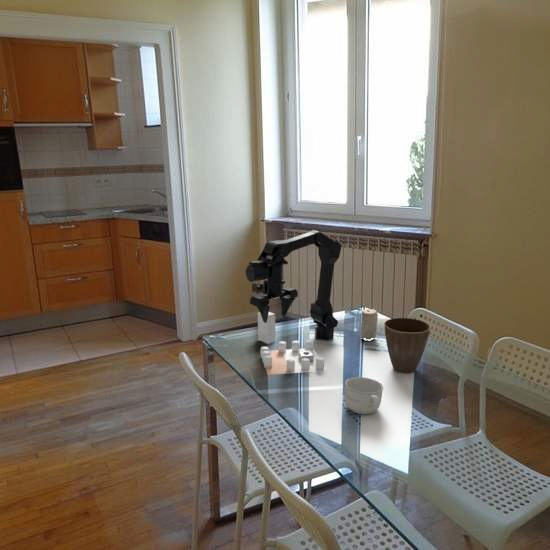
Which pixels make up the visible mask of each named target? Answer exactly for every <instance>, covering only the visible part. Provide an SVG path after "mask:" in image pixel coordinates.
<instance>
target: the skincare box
mask: <svg viewBox="0 0 550 550" xmlns="http://www.w3.org/2000/svg"><path fill="white" fill-rule="evenodd" d="M276 331H277V330H276V314H275V313H273V312H270V311H269V313H268V318H267V322H266V323H264V322H263V319H262V316H261V314H260V311H258V312H257V334H258V338H257V339H258V342H259V341H260V342H262V343H265V344H267V345H268V344H272V343H276V341H277V339H276V338H277V337H276V335H277V334H276Z"/></svg>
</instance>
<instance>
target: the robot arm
mask: <svg viewBox="0 0 550 550" xmlns="http://www.w3.org/2000/svg"><path fill="white" fill-rule="evenodd" d="M311 245H314V246H315V247H316V248H317V249H318V252H317V253H318V254H317V255H318V258H319V261H320V270H319V271H320V272H319V278H318V289H317V294H316V295H317V296H316V300H315V301H314V302H311V303H310V309H309V314H310V317H311V319H312V322H313V323H314V324H316V326H315V328H314V338H315V339H316V340H321V341H330V340H332V339H334V337H335V336H334V333H335V332H334V331H335V328H337V327H338V324H339V321H338V319H336V318H335V317H334V313H333V312H334V311H333V305H332V302H331V293H332V286H333V279H334V270H335V263H336V262H337V261H338V260H339V258H340V254H341V251H342V245H341V243H340V242H339V241H337V240H333V239H332V238H330V237H329V236H327V235H326V234H324V233H322V232H321V231H318V230H314V229H313V230H310V231H308V232H305V233H302V234H300V235H297V236H296V235H295V236H294V237H290V238H288V239H283V240H280V239H279V240H277V239H276V240H270V241H267V242H266V243H265V245H264V247H263V249H262V251H261V253H260V254H259V256H258V258H257V261H249V262H248V265H247V267H246V268H245V277H246V279H247V280H248V282H249V283H252V284H251V290H252V293H255V294H254V295H252V296H250V298H249V304H250V305H252V306H254V307H256V309H257V310H258V312H260V314H261V316H262V319H263V322H264V323H266V322H267V318H268V313H269V312H270V305H269V304H270V301H273V300H276V299H279V300H280V303H281V317H283V318H285V317H286V315H287V314H288V312H289V310H290V308H291V306H292V304H293V302H294V301H295V300H296V298H298V296H299V292H298V290H297V289H296V288H294V287H290V286H285V287H283V285H284V284H286V280H285V279H283V277H284V275H283V273H284V269H283V267H284V265H288V264H289V262H288V261H287V260H286V258H287V257H288V256H290V254H291V253H293V252H294V251H297V250H299V249H302V248H306V247H307V246H311ZM258 281H263V283H261V284H259V282H258ZM253 282H254V283H253Z"/></svg>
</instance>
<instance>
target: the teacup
mask: <svg viewBox="0 0 550 550" xmlns="http://www.w3.org/2000/svg"><path fill="white" fill-rule="evenodd" d="M383 390H384V385H383V384H382V383H381V382H379V381H378V380H376V379H372V378H368V377H361V376H360V377H359V376H356V377H350V378H348V379H346V380H345V381H344V403H345V405H346V407H348V408H349V409H350V411H352V412H354V413H355V414H360V415H370V414H372V413H374V412H376V411H377V410H378V409H379V408H380V406H381V404H382V403H381V402H382V397H383Z"/></svg>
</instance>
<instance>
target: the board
mask: <svg viewBox="0 0 550 550" xmlns="http://www.w3.org/2000/svg"><path fill="white" fill-rule="evenodd" d="M300 344H301V342H300V341H299V340H292V341H291V348H290V349H287V342H286V341H282V340H281V341H278V346H277V347H278V349H274V350H273V349H272V350H270V348H269V346H261V347H260V350H259V353H260V358H261V360H262V362H261V363H263V368H264V369H265V371H266V374H267V376H268V375H269V376H270V375H284V374H296V373H297V374H299V373H302V374H303V373H317V372H328V371H327V368H326V367H325V358H323V357H321V356H320V357H319V355H318V353H317V352H316V350H315V348H314V340H310V339H307V340H305V344H304V345H305V348H300V347H301V346H300ZM299 351H311V352H312V353H313V355H314V362H310V359H308V358H303V359H301V361H300V359H299V358H298V357H299Z"/></svg>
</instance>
